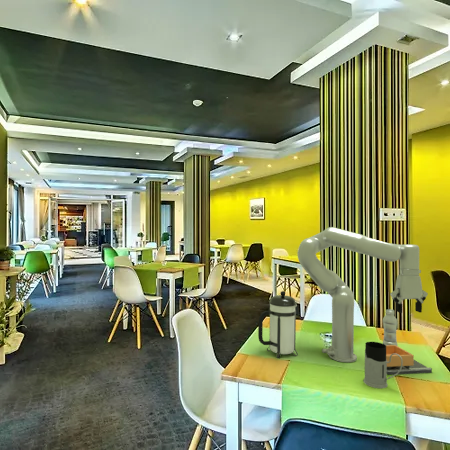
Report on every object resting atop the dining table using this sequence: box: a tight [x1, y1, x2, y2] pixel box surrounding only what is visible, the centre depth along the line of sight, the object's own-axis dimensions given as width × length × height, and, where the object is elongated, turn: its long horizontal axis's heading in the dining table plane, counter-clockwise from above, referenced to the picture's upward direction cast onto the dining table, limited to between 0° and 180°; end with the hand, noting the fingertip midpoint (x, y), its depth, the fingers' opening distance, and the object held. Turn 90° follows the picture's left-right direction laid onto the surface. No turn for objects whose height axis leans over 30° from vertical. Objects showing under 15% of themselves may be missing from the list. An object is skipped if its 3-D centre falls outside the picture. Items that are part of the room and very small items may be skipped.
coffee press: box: [257, 290, 299, 359], centre depth 159 cm, size 17×16×30 cm
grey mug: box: [363, 341, 403, 389], centre depth 129 cm, size 9×14×15 cm, turn 43°
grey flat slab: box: [387, 359, 433, 376], centre depth 146 cm, size 20×13×2 cm, turn 97°
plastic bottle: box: [382, 308, 399, 347], centre depth 165 cm, size 6×7×20 cm
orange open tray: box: [386, 345, 415, 369], centre depth 145 cm, size 12×12×6 cm
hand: (408, 311), depth 146 cm, fingers open, 8 cm apart
